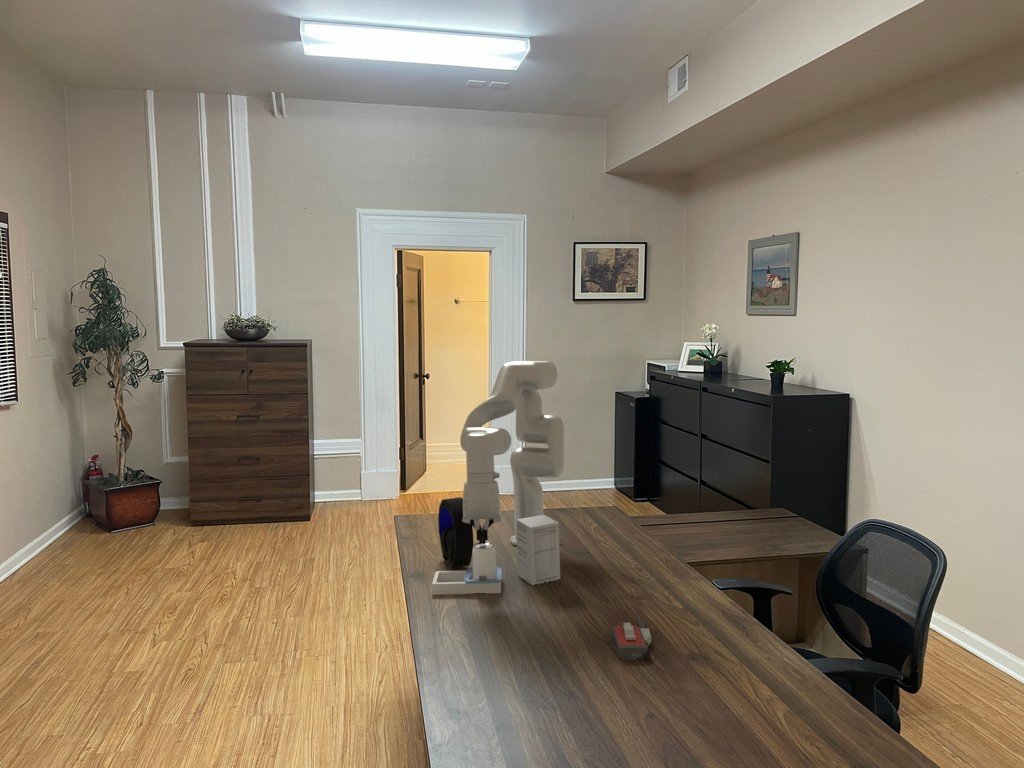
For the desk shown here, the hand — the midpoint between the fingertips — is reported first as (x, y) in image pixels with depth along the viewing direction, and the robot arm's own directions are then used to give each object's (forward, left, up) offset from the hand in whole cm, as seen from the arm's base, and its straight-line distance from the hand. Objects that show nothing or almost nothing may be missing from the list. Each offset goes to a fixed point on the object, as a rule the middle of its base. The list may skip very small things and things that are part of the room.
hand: (482, 542), depth 197 cm
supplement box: (-16, -6, -13) cm, 21 cm away
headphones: (+9, -19, -13) cm, 25 cm away
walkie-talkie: (-36, +34, -13) cm, 51 cm away
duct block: (+4, 0, -13) cm, 13 cm away
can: (0, 0, -13) cm, 13 cm away
